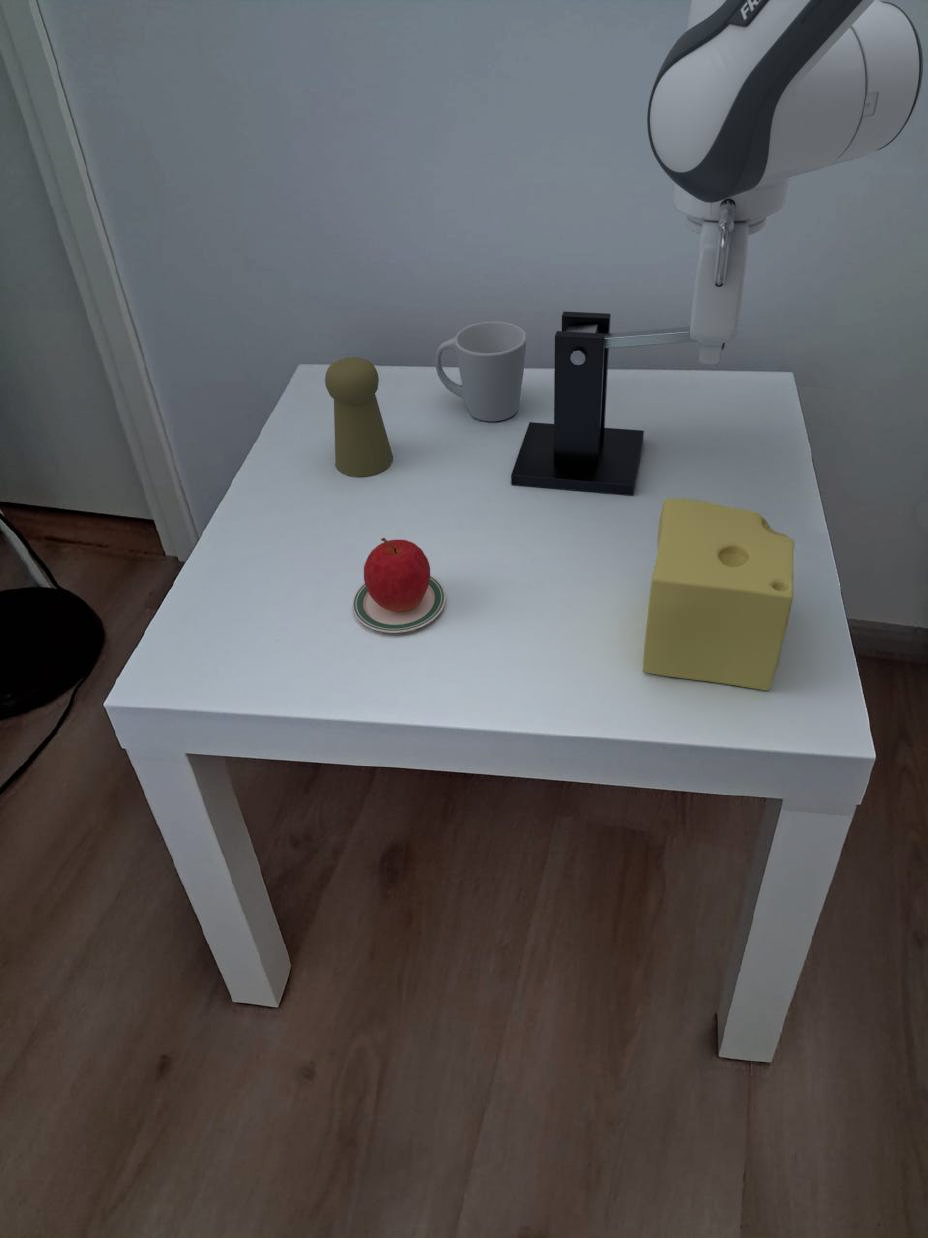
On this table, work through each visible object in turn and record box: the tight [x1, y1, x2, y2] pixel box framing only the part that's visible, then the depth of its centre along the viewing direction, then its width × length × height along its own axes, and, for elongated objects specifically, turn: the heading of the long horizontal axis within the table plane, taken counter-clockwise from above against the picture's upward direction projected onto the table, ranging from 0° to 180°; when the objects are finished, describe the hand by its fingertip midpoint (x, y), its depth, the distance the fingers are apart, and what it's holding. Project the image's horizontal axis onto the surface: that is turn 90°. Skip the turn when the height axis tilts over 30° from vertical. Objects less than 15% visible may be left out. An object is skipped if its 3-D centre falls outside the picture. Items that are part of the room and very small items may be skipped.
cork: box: [324, 356, 394, 478], centre depth 94 cm, size 6×6×11 cm
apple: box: [352, 537, 447, 634], centre depth 78 cm, size 8×8×6 cm
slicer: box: [510, 310, 645, 497], centre depth 90 cm, size 12×10×15 cm
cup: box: [434, 321, 528, 423], centre depth 101 cm, size 8×10×8 cm
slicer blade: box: [566, 324, 726, 352], centre depth 85 cm, size 14×5×2 cm, turn 77°
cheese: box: [642, 497, 795, 691], centre depth 72 cm, size 10×11×10 cm
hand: (710, 343), depth 84 cm, fingers closed on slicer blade, 5 cm apart
